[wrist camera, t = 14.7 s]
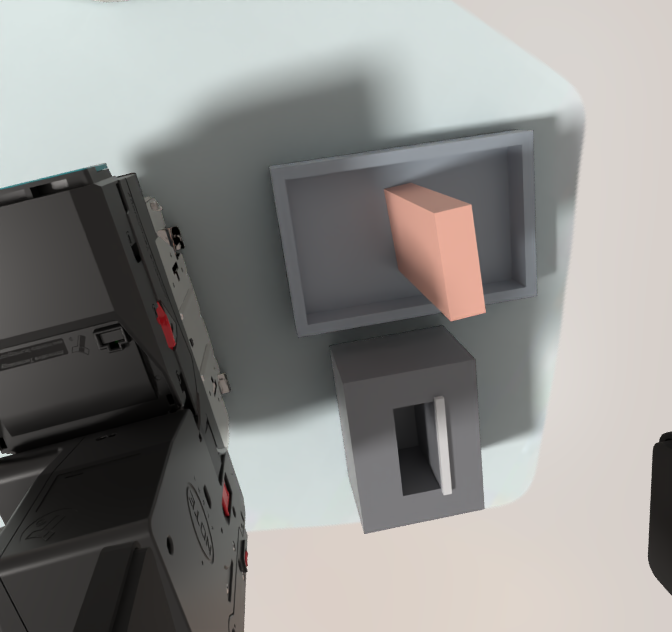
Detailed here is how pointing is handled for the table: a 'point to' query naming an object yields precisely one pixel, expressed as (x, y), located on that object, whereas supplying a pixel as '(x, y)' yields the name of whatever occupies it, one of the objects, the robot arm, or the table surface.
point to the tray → (375, 232)
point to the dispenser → (409, 427)
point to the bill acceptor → (109, 408)
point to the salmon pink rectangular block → (437, 248)
